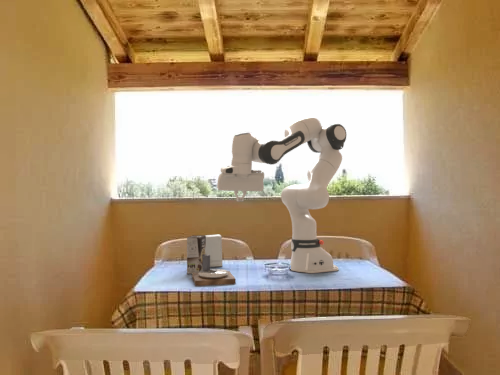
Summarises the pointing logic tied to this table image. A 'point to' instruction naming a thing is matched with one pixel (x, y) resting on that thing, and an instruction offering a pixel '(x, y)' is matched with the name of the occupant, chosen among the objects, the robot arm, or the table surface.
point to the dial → (211, 270)
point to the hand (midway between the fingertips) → (239, 201)
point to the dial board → (213, 280)
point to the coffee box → (195, 253)
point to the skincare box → (214, 249)
